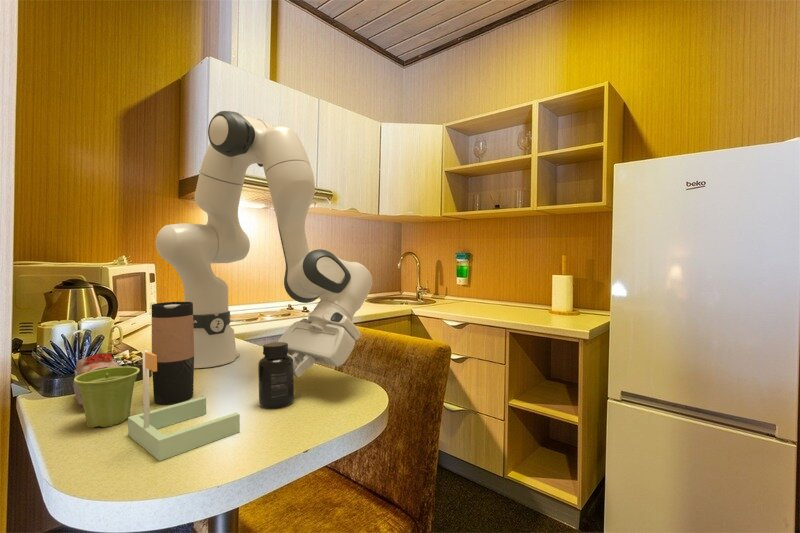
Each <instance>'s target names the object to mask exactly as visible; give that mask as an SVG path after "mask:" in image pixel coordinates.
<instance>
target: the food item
mask: <svg viewBox="0 0 800 533" xmlns="http://www.w3.org/2000/svg"><path fill="white" fill-rule="evenodd" d="M112 367H121V365H120V364H118V363H117V362H116V358H113V354H111V353H102V352H97V353H95V354H93V355H90V356H86V357H85V356H84V355H82V356H81V359H78V360H77V361H76V365H75V369H74V378H75V377H77V376H78V375H81V374H83V373H87V372H90V371H94V370H99V369H105V368H112ZM72 386H73V387H72V388H73V392H74V396H75V399H76V401H77V405H78V404H79V406H81V407H82V408H83V409H84V406H83V401H82V396H81V391H80V390H79V388H78V385H77V383H75V382H74V380H73V382H72Z"/></svg>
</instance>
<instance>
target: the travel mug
mask: <svg viewBox="0 0 800 533" xmlns="http://www.w3.org/2000/svg"><path fill="white" fill-rule="evenodd" d="M151 353H153V354H155V355H157V371H155V372H154V371H152V370H151V372H152V390H153V392H152V393H153V403H154V404H156V405H158V406H159V405H160V406H167V405H168V406H171V405H175V404H178V403H182V402H186V401H189V400H192V398H193V397H194V388H195V387H194V384H195V383H194V381H195V373H194V372H195V368H194V328H193V303H192V302H185V301H168V302H167V301H165V302H156V303H152V304H151Z"/></svg>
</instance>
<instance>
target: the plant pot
mask: <svg viewBox="0 0 800 533" xmlns="http://www.w3.org/2000/svg"><path fill="white" fill-rule="evenodd" d="M138 374H140V368H139V367H137V366H120V367H112V368H105V369H99V370H94V371H90V372H87V373H83V374H81V375H78V376H77V377H75V376H74V379H73V381H74V382H75V383H77V385H78V388H79V390H80V391H81V396H82V401H83V406H84V408H83V409H84V415H85V421H86V426H87V427H89V428H96V427H101V428H108V427H112V426H115V425H119V424H121V423H123V422H125V420H127V419H128V417H130V414H131V406H132V401H133V392H134V388H135V387H134V386H135V381H137V377H138Z"/></svg>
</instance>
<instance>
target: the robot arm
mask: <svg viewBox="0 0 800 533" xmlns="http://www.w3.org/2000/svg"><path fill="white" fill-rule="evenodd" d="M207 129H208V130H207V136H208V141H209V145H208V147H207V148H206V151H205V154H204V156H203V159H202V163H201V164H200V165H201V166H200V169H199V172H198V173H199V174H198V179H197V183H196V186H195V187H196V188H195V192H194V201H195V203H196V205H197V206H198V208H200V210H202V211H203V212H205V214H207V222H206V224H202V223H201V224H200V223H199V224H198V223H191V222H190V223H188V222H187V223H185V222H181V223H173V224H166V225H164V226H163V227H162V228H161V229H160V230H159V231H158V233H157V234H156V237H155V248H156V251H157V253H158V255H159V257H160V258H162V259H163V260H164V261H166V262H167V263H168V264H170V266H172V267H173V268H174V269H175V271H176V272H177V274H178V277H179V278H180V280H181V283H182V286H183V294H184V302H192V303H193V328H194V369H205V368H212V367H218V366H222V365H226V364H229V363H232V362H234V361H235V360H236V358H238V357H240V356H241V353H240V351H237V348H236V336H235V330H234V328H232V327H231V325H230V324H231V319H232V318H231V317H232V316H231V311H230V310H229V286H228V284H227V282H226V281H225V280H224V279H222V278H220V277H218V276H216V274H215V273H214V272H213V270H212V269H213V268H212V266H211V265H212V264H231V263H235V262H239V261H242V260H244V259H246V257H247V256H248V254H249V251H250V248H251V244H250V243H251V242H250V239H249V236H248V234H247V233H246V232H245V231H244V229H243V228H242V225H241V223H240V219H239V205H240V200H241V195H242V191H243V187H244V183H245V178H246V174H247V170H248V168H249V167H250V166H251V165H254V164H257V166H258V167H261V168H263V171H264V176H265V180H266V183H267V186H268V190H269V192H270V197H271V200H272V204H273V207H274V212H275V217H276V221H277V228H278V229H277V230H278V232H279V237H280V238H279V239H280V243H281V248H282V251H283V252H282V253H283V257H284V261H285V272H284V276H283V277H284V278H283V285H284V286H283V287H284V289H285V292H286V294H287V295H288V297H290V298H291V299H293V300H294V301H295V302H298V303H301V304H302V303H303V304H309V303H313V302H314V301H316V300H318V299H320V300H319V301H318V303H317V305H316V306H315V308H313V310H312V312H310V314H309V316H308V317H307V318H302V319H301V320H300V319H299V320H297V321H295V322H293V323H292V324H291V325H290V326H289V327H288V328H287V329H286V330H285V331H284V332H283V334H281V336H280V337H279V338H278V340H277V341H276V342H286V343H288V353H287V355H289V356H291V358H292V359H293V366H294V377H295V378H296V377H297V378H301V376H302V375H303V373H304V372H305V371H306V370H308V369H309V368H311V367H312V366H313V365H314V364H315V362H317V363H322V364H324V365H328V366H333V367H336V368H337V367H338V368H339V367H340V366H343V365H344V364H345V363H346V361H347V360H348V358H349V357H350V355H351V354H352V351H353V349H354V348H355V345H356V341H358V340H359V339H360V337H361V335H362V333H361V332H360V330H359V329H358V327H357V326H356V325H355V324H354V322H353V318H354V316H355V314H356V312H357V311H359V310H360V309H361V308H362V306H363V305H364V303H365V301H366V299H367V297H368V296H369V293H370V291H371V289H372V286H373V275H372V273H371V272H370V271H369V269H368V268H367V267H366V266H365V265H363V264H362V263H360V262H358V261H347V260H345V259H342V258H339V257H338V256H336V255H335V254H334V253H333V252H331V251H329V250H326V249H321V248H320V249H319V248H318V249H314V250H311V251H310V250H309V244H308V240H307V235H306V226H305V225H306V219H307V215H308V212H309V209H310V207H311V204H312V202H313V200H314V197H315V193H316V185H315V184H316V183H315V176H314V172H313V169H312V166H311V162H310V159H309V157H308V154H307V152H306V149H305V147H304V145H303V143H302V141H301V139H300V138H299V135H298V134H297V133H296V131H295V130H294V129H292V128H290V127H287V126H283V125H278V126H275V125H273V124H271V123H269V122H267V121H264V120H263V119H260V118H255V117H251V116H247V115H244V114H241V113H239V112H236V111H230V110H222V111H221V110H220V111H218V112H216V113H215V114H214V115H213V117H211V120H210V121H209V124H208V128H207Z"/></svg>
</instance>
